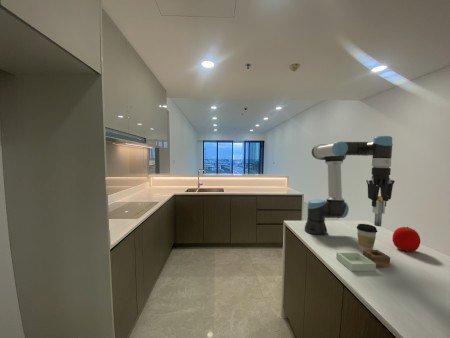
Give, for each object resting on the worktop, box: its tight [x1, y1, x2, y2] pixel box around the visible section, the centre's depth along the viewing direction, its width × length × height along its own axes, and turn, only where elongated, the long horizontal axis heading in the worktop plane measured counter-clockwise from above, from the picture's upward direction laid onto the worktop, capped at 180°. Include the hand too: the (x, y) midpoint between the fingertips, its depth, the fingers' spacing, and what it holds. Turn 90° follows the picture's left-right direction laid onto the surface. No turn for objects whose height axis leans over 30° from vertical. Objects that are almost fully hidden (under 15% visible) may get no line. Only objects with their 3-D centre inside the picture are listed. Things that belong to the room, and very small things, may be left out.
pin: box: [373, 195, 383, 227], centre depth 101 cm, size 3×3×15 cm
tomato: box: [392, 226, 421, 253], centre depth 118 cm, size 13×11×14 cm
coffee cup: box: [356, 223, 378, 253], centre depth 115 cm, size 10×10×15 cm
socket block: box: [362, 249, 391, 268], centre depth 103 cm, size 8×8×5 cm
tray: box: [335, 251, 377, 272], centre depth 101 cm, size 12×12×4 cm
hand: (378, 212), depth 101 cm, fingers closed on pin, 3 cm apart
